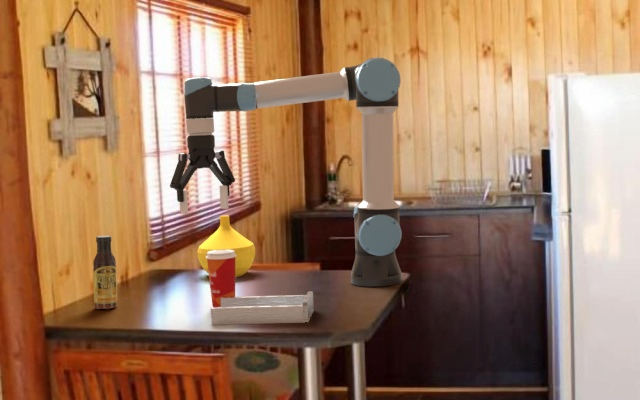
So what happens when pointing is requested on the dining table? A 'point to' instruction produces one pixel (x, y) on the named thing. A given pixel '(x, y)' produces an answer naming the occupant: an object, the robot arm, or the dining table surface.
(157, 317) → the dining table surface
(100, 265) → the sauce bottle
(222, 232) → the vase
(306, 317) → the channel
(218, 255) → the coffee cup
